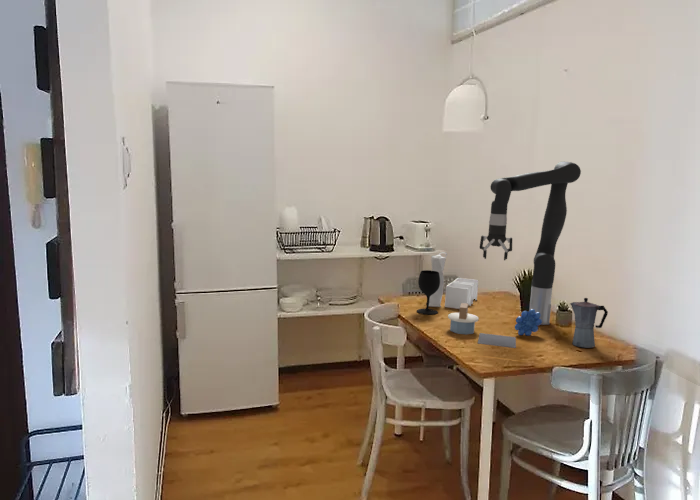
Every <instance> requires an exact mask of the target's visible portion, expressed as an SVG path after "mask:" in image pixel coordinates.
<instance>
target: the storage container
mask: <svg viewBox="0 0 700 500" xmlns="http://www.w3.org/2000/svg"><path fill="white" fill-rule="evenodd" d="M478 288H479V280H478V279H473V278H465V277H464V278H463V277H457V278H455V280H453V281H452V282H449V284H447V285H446V286H445V296H444V298H445V299H444V300H445V301H444V308H449V309H450V308H451V309H455V310H456V309H458V310H460V305H461V303H467V304H468V306H472V305H473V304H474V299H475V301H477V300H478V290H479V289H478Z"/></svg>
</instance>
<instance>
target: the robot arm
mask: <svg viewBox="0 0 700 500" xmlns="http://www.w3.org/2000/svg"><path fill="white" fill-rule="evenodd" d="M581 172H582V170H581V168H580V166H579V165H578V164H577V163H574V162H572V161H570V162H569V161H560V162H558V163H557V164H556V165H555V166H554V168H553V169H549V170H543V171H533V172H526V173H521V174H517V175H514V176H508V177H507V176H505V177H501V178H496V179H493V180H492V182H491V183H490V186H489V187H490V191H491V192H492V193H493V194H495V195H494V200H492V201H491V204H490V205H491V207H490V214H489V221H488V234H487V235H481V236H480V243H479V249H480V250H482V251H483V252H482V257H483V258H484V260H487V253H488V249H489V248H490V246H491V247H501V248H502V249H503V251H504V254H503V255H504V256H503V261H507V259H508V256H509V255H508V254H509V253H510V252H513V237H506V234H507V224H508V223H507V222H508V204H509V201H510V197H511V195H512V194H511V193H512V192H520V191H525V190H529V189H530V190H531V189H534V188H540V187H543V186H549V185H550V191H549V195H548V200H547V204H546V209H545V212H544V216H543V219H542V220H543V221H542V227H541V231H540V240H539V244H538V247H537V249H536V252H535V254H534V257H533V273H532V274H533V275H532V279H531V289H530V299H529V300H530V301H529V310H531V309H534V310H535V313H536V312H539V313H540V314H541V316H540V318H539V319H541V320H542V323H541V324H540V325H541V326H543V325H544V326H545V325H546V326H547V325H548V326H549V325H550V319H551V313H552V312H551V310H552V298H553V297H552V295H553V286H554V281H555V271H556V259H555V252H556V247H557V246H556V245H557V244H558V243H557V242H558V240H559V237H560V236H561V233H562V232H563V229H564V226H565V221H566V218H567V213H568V210H567V209H568V207H567V202H566V201H567V200H566V191H567V188H568V184H571V183H574V182H576V181H577V180H578V179H579V178H580V176H581V174H582V173H581ZM486 240H487V241H488V242H487V244H486V245H485V246H484V242H486ZM506 241H507V243H509V248H507V247H506V246H507V245H505V242H506ZM529 310H528V311H529ZM540 325H539V326H540Z"/></svg>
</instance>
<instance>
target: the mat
mask: <svg viewBox="0 0 700 500" xmlns="http://www.w3.org/2000/svg"><path fill="white" fill-rule="evenodd" d="M477 339H478V340H477V344H480V345H488V346H496V347H504V348H512V349H516V348H517V342H516V341H517V338H516V336H511V335H510V336H509V335H508V336H507V335H501V334H492V333H482V332H480V333H479V335H478V338H477Z"/></svg>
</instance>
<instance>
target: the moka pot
mask: <svg viewBox="0 0 700 500" xmlns="http://www.w3.org/2000/svg"><path fill="white" fill-rule="evenodd" d="M588 300H589V298H587V297H584V298H583V301H578V302H577V301H573V302H571V303H569V305H571V309H572V311H573V314H574V321H575V323H574V326H575V328H574V332H573V336H572V337H573V338H572V345H573V346H575V347H578V348H585V349H586V348H587V349H589V348H594V347H596V343H595V341H596V340H595V331H594V328H596V329H601V328H602V327H603V325H604V323H605V320H606V319H607V316H608V313H609V312H608V310H607V308H606V307H605V305H599V304H597V303H596V304H595V303H593V302H589V301H588ZM598 311H603V312H604V313H603V315H602V318H601V320H600V323H599V325H597V324H596V325H595V323H596V317H597V312H598Z"/></svg>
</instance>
